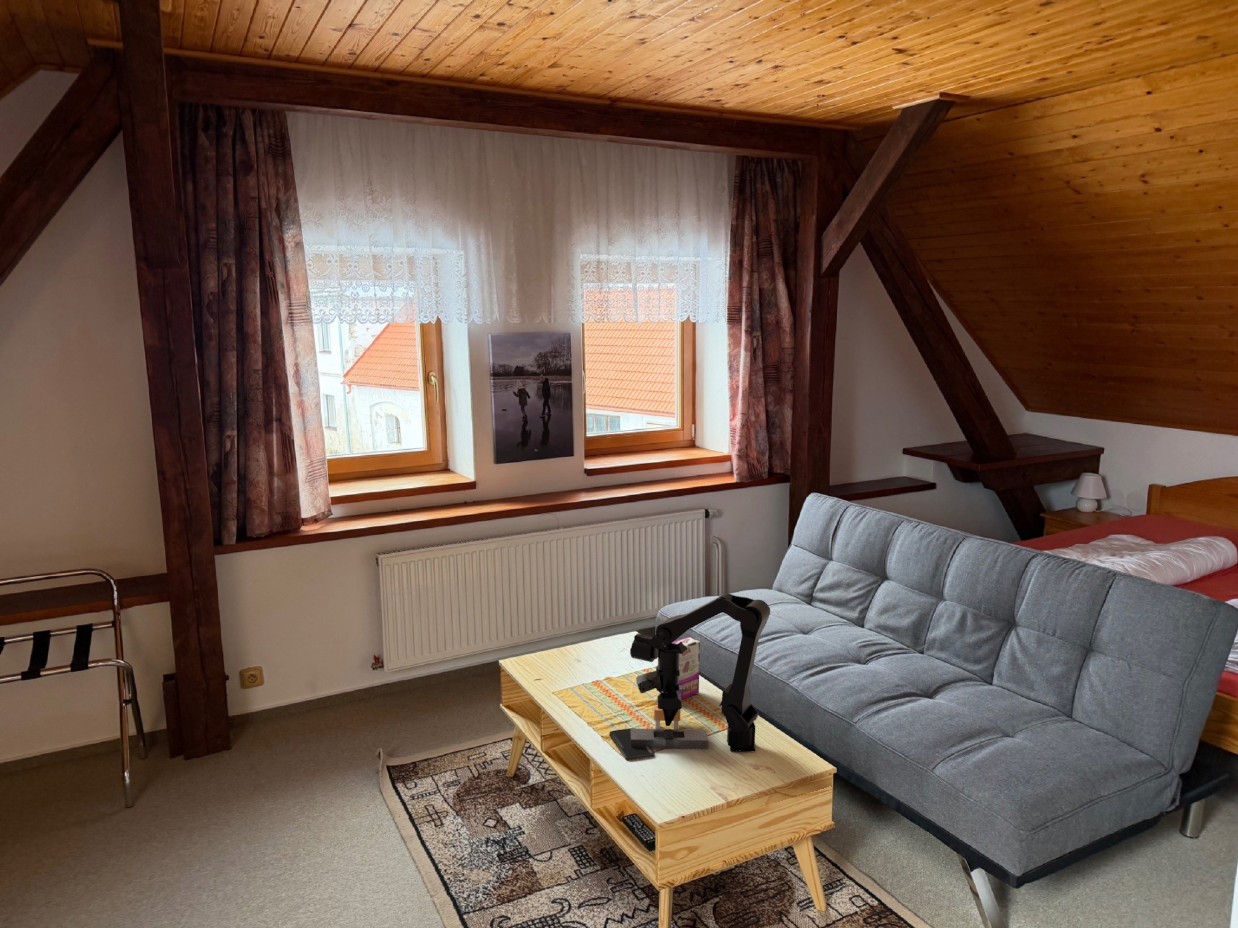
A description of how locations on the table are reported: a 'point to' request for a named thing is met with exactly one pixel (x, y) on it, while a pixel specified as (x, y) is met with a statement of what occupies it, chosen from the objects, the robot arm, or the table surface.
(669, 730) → the rail
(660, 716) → the clip
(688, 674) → the candy bar box
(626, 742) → the phone
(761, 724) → the table surface
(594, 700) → the table surface
